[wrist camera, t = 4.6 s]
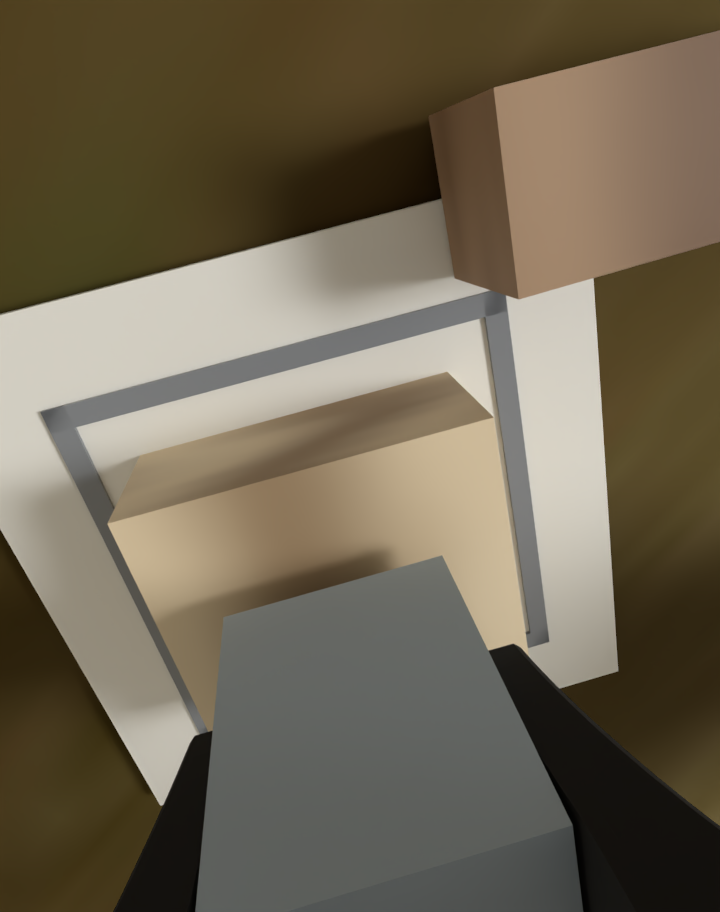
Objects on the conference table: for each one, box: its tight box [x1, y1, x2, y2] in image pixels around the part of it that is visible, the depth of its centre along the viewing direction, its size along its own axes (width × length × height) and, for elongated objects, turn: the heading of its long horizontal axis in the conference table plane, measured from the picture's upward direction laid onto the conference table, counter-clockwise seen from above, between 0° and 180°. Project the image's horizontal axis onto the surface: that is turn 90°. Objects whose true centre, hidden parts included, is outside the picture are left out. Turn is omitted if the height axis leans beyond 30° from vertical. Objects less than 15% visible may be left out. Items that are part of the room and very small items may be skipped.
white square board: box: [0, 199, 618, 806], centre depth 15 cm, size 14×14×1 cm
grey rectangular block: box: [195, 556, 583, 912], centre depth 9 cm, size 4×4×5 cm
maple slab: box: [107, 372, 529, 732], centre depth 13 cm, size 7×7×3 cm
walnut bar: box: [428, 30, 720, 299], centre depth 11 cm, size 8×3×3 cm, turn 104°
